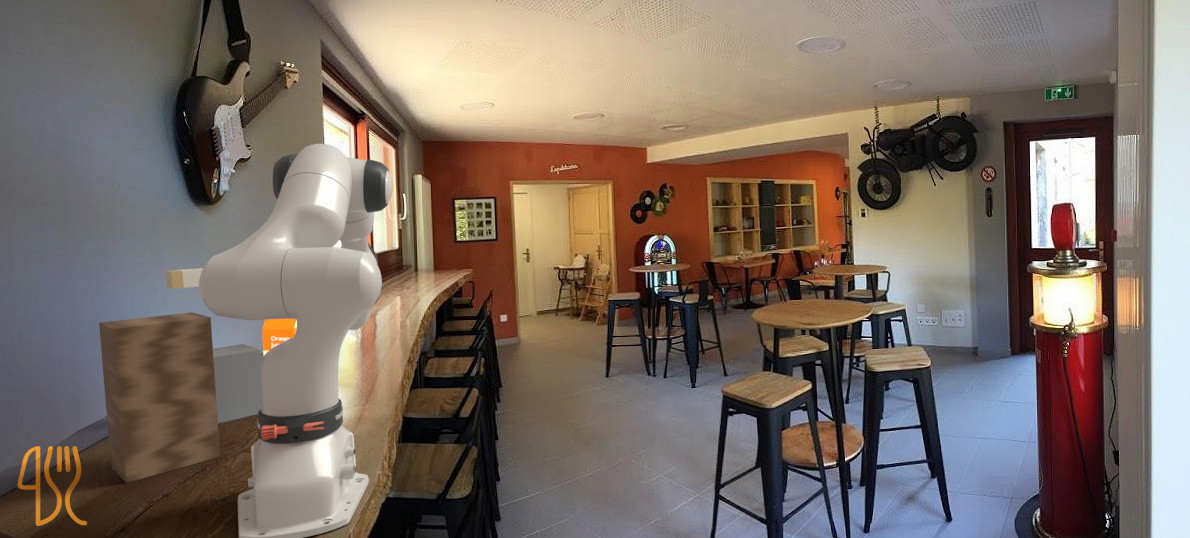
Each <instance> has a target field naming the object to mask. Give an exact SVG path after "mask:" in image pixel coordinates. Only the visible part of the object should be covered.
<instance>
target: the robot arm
mask: <svg viewBox="0 0 1190 538" xmlns="http://www.w3.org/2000/svg"><path fill="white" fill-rule="evenodd" d="M270 180H271V181H270V182H271V187H272V189H273V195H274V196H275V199H276V203H275V205H274V207H273V210H272V212H271V214H270V216H269V217H268V219H267V220H266V221H265V222H264V223H263V224H262V225H261V226H260V227H259V228H258V229H257V230H256V231H254V232H253V233H252V234H251V235H250V236H249V237H247V238H246V239H244V240H243V241H241V242H240V243H238V244H237V245H235V246H233V247H232V248H230V249H227V250H225V251H222V252H220V253H218V254H215V255H213V256H211V257H210V258H209V260H208V261H207V262H206V263H205V265H204V266H203V267H202V268H203V270H202V272H201V275H200V279H199V287H198V290H199V295H200V298H201V299H202V302H203V304H204V306H206V307H207V308H206V309H208V310H209V311H210V312H211V313H212V314H213V315H215V316H218V317H224V318H228V319H229V318H230V319H236V320H237V319H238V320H244V321H265V320H271V319H296V320H297V329H296V333H295V336H294V337H292V338H290V339H288V340H286V341H284V342H282V343H280V344H279V345H277V346H275V347H274V348H272V349H270V350H269V351H268V352H267V353H266V354H265V355H264V354H263V356H262V357H261V361H260V364H259V368H258V373H259V389H260V404H261V409H260V410H259V412H258V414H257V419H256V421H257V423H256V426H257V437H258V439H257V440H256V441H255V442H254V443H253V444H252V445H251V446H250V452H251V453H250V455H251V465H252V467H251V469H252V477H248V478H247V480H246V486H247V487H248V488H251V489H248V490H245V491H244V492H241V493H240V494H238V496H237V524H238V526H237V527H238V538H307V537H311V536H315V535H320V534H324V533H327V532H329V531H330V532H331V531H334V530H336V529H339V528H342V527H343V526H346V525H347V524H349V522H351V519H352V517H353V515H354V514H355V511H356V509H357V508H358V506H359V504H360V502H361V499H362V497H363V496H364V493H365V492H366V489H367V487H368V485H369V483H370V479H369V475H367V474H364V473H359V472H357V466H356V465H357V464H356V448H355V440H354V439H355V438H354V437H355V436H354V433H353V432H351V431H350V430H348V429H347V428H346V427H344V425H343V422H344V417H343V414H344V409H343V408H344V407H343V405H342V403H343V402H342V399H340V397H339V396H340V395H339V359H340V352H341V348H342V344H343V342H344V340H345V338H346V336H347V334H348V333H349V331H356V330H359V329H361V328H362V327H364V326H365V325H366V324H367V322H368V321H369V319H370V317H371V314H372V313H371V312H372V311H371V310H372V307H374V306H375V305H376V304H377V302H378V300H379V298H380V295H381V291H382V287H383V279H382V277H383V276H382V274H381V270H380V268H379V259H378V254H377V252H376V251H375V250H374V249H373V247H372V246H371V244H370V243H369V239H368V236H369V235H370V234H371V233H372V231H373V230H374V229H373V228H374V221H375V213H377V212H380V211H383V210H384V209H385V208H386V207H388V205H389V202H390V200H391V198H392V195H393V191H394V189H393V185H394V184H393V179H392V176H391V174H390V170H389V168H388V167H387V166H386V165H385V164H384V163H383V162H380V161H377V160H374V159H367V160H365V159H359V158H355V157H354V158H353V157H347V156H346V154H344V153H343V151H341V150H340V149H339V148H337V147H335V146H333V145H329V144H326V143H314V144H311V145H310V144H309V145H307V146H306V147H304V148H303V149H301V150H300V151H299V153H295V154H294V153H293V154H287V155H284V156H282V157H280V158H279V159H278V160H277V161H276V162H275V163H274V166H273V169H272V173H271V179H270ZM339 241H340V242H341V243H340V244H341V247H338V246H335V245H336V244H338V242H339Z"/></svg>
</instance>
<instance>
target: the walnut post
mask: <svg viewBox="0 0 1190 538" xmlns="http://www.w3.org/2000/svg"><path fill="white" fill-rule="evenodd" d="M211 318H212V317H210V316H207V315H203V314H199V313H197V312H196V313H195V312H185V313H184V312H183V313H176V314H175V313H174V314H166V315H158V316H157V315H156V316H146V317H140V318H138V317H137V318H130V319H129V318H128V319H120V320H112V321H111V320H110V321H103V322H98V326H99V338H100V350H101V351H100V352H101V361H102V375H103V385H104V396H105V397H104V399H105V409H106V420H107V421H106V422H107V435H108V444H109V445H108V446H109V456H110V467H111V466H112V468H113V469H114V470H115V471H116V472H117V473H116V472H115V471H114V470H113V469H112V468H111V469H112V470H113V471H114V472H115V473H116V474H117V475H118V476H119V477H120V478H121V479H122V480H123V481H124V483H126V484H128V483H131V482H135V481H138V480H143V479H146V478H148V477H153V476H156V475H159V474H164V473H167V472H170V471H174V470H178V469H181V468H186V467H189V466H192V465H195V464H198V463H199V464H200V463H203V462H207V461H211V460H214V459H218V458H220V457H221V449H220V447H221V446H220V435H219V433H220V431H219V424H218V417H217V403H216V388H215V374H214V359H213V349H214V347H213V333H212V332H213V331H212V320H211Z"/></svg>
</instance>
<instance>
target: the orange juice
mask: <svg viewBox="0 0 1190 538" xmlns="http://www.w3.org/2000/svg"><path fill="white" fill-rule="evenodd" d="M296 329H297V320H296V319H271V320H264V324H263V326H262V330H261V331H262V347H263V348H262V349H263V351H262V353H263V356H264V355H265V354H266V353H267V352H268V351H269V350H270V349H272V348H274V347H275V346H277V345H279V344H280V343H282V342H284V341H286V340H288V339H290V338H292V337H294V336H295V333H296Z"/></svg>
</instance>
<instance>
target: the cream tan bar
mask: <svg viewBox="0 0 1190 538" xmlns="http://www.w3.org/2000/svg"><path fill="white" fill-rule="evenodd" d="M203 268H204V267H200V268H199V267H198V268H197V267H196V268H187V269H185V268H184V269H173V270H165V278H166V288H168V289H170V290H171V289H172V290H176V289H185V288H186V289H187V288H188V289H189V288H196V287H197V288H199V279H200V275H201V272H202V270H203Z"/></svg>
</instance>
